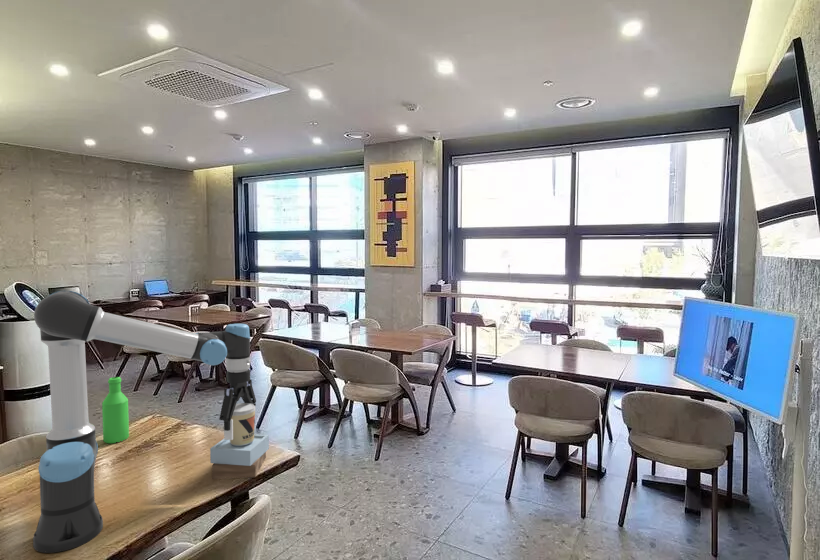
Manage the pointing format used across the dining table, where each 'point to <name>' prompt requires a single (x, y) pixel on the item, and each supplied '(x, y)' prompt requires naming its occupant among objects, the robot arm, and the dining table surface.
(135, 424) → the dining table surface
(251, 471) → the block bottom
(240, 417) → the coffee cup
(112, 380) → the bottle
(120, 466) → the dining table surface
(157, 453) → the dining table surface
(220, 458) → the block top
